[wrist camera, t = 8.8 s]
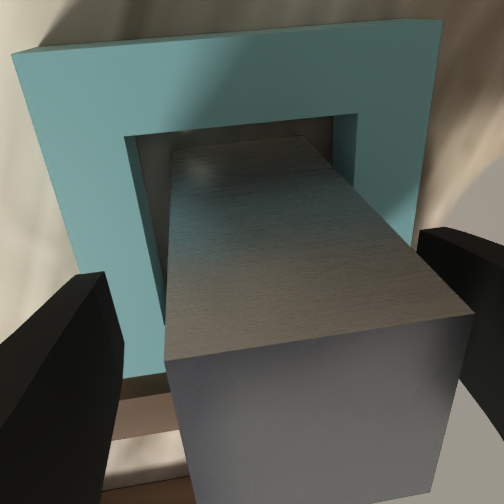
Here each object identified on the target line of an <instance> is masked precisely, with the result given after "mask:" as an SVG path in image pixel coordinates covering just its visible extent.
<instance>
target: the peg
mask: <svg viewBox="0 0 504 504" xmlns="http://www.w3.org/2000/svg"><path fill="white" fill-rule="evenodd" d="M474 317H475V313H474V312H473V311H472V310H471V309H470V308H469V307H468V306H467V304H466V303H465V302H464V301H463V300H462V299H461V298H460V297H459V296H458V295H457V294H456V293H455V292H454V291H453V290H452V289H451V288H450V287H449V286H448V285H447V284H446V283H445V282H444V281H443V280H442V279H441V278H440V277H439V276H438V275H437V274H436V273H435V272H434V271H433V270H432V268H431V267H430V266H429V265H428V264H427V263H426V262H425V261H424V260H423V259H422V258H421V257H420V256H419V255H418V254H417V253H416V252H415V251H414V250H413V249H412V248H411V247H410V246H409V245H408V244H407V243H406V242H405V241H404V240H403V239H402V238H401V237H400V236H399V235H398V234H397V232H396V231H395V230H394V229H393V228H392V227H391V226H390V225H389V224H388V223H387V222H386V221H385V220H384V219H383V218H382V217H381V216H380V215H379V214H378V213H377V212H376V211H375V210H374V209H373V208H372V207H371V206H370V205H369V204H368V203H367V202H366V201H365V200H364V199H363V198H362V196H361V195H360V194H359V193H358V192H357V191H356V190H355V189H354V188H353V187H352V186H351V185H350V184H349V183H348V182H347V181H346V180H345V179H344V178H343V177H342V176H341V175H340V174H339V173H338V172H337V171H336V170H335V169H334V168H333V167H332V166H331V165H330V164H329V163H328V161H327V160H326V159H325V158H324V157H323V156H322V155H321V154H320V153H319V152H318V151H317V150H316V149H315V148H314V147H313V146H312V145H311V144H310V143H309V142H308V141H307V140H306V139H305V138H304V137H303V136H302V135H300V136H291V137H281V138H272V139H262V140H253V141H243V142H234V143H224V144H215V145H206V146H196V147H187V148H177V149H173V152H172V176H171V200H170V224H169V247H168V271H167V295H166V318H165V342H164V365H165V369H166V373H167V378H168V382H169V386H170V391H171V395H172V399H173V404H174V408H175V412H176V417H177V421H178V426H179V430H180V434H181V439H182V443H183V447H184V452H185V456H186V460H187V465H188V469H189V473H190V478H191V482H192V486H193V491H194V495H195V499H196V504H371V503H376V502H382V501H386V500H392V499H397V498H402V497H407V496H413V495H418V494H423V493H428V492H430V490H431V486H432V482H433V478H434V474H435V470H436V466H437V462H438V458H439V454H440V451H441V447H442V442H443V438H444V435H445V431H446V427H447V422H448V419H449V415H450V411H451V407H452V403H453V399H454V395H455V391H456V387H457V384H458V380H459V376H460V372H461V368H462V364H463V360H464V356H465V352H466V348H467V344H468V340H469V336H470V332H471V328H472V324H473V320H474Z"/></svg>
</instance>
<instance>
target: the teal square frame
mask: <svg viewBox="0 0 504 504" xmlns="http://www.w3.org/2000/svg"><path fill="white" fill-rule="evenodd" d="M442 26H443V20H436V19H412V18H402V19H389V20H376V21H363V22H351V23H338V24H325V25H312V26H300V27H287V28H274V29H261V30H249V31H236V32H223V33H210V34H198V35H185V36H172V37H160V38H147V39H134V40H121V41H109V42H96V43H83V44H70V45H58V46H45V47H36V48H32V49H28V50H25V51H21V52H17V53H14V54H11V56H12V60H13V63H14V66H15V69H16V72H17V75H18V79H19V82H20V85H21V88H22V91H23V94H24V97H25V101H26V104H27V107H28V110H29V113H30V116H31V120H32V123H33V126H34V129H35V132H36V135H37V138H38V142H39V145H40V148H41V151H42V154H43V157H44V161H45V164H46V167H47V170H48V173H49V176H50V179H51V183H52V186H53V189H54V192H55V195H56V198H57V202H58V205H59V208H60V211H61V214H62V217H63V220H64V224H65V227H66V230H67V233H68V236H69V239H70V243H71V246H72V249H73V252H74V255H75V258H76V261H77V265H78V268H79V271H80V274H86V273H93V272H101V271H105V274H106V278H107V281H108V285H109V288H110V292H111V296H112V299H113V303H114V306H115V310H116V313H117V317H118V320H119V324H120V328H121V331H122V335H123V338H124V342H125V349H124V368H123V379H124V378H130V377H137V376H143V375H150V374H156V373H163V372H166V369H165V365H164V342H165V318H166V295H167V289H166V288H165V284H164V279H163V274H162V269H161V264H160V259H159V254H158V249H157V244H156V239H155V234H154V229H153V224H152V219H151V214H150V209H149V204H148V199H147V194H146V189H145V184H144V179H143V174H142V169H141V164H140V159H139V154H138V149H137V144H136V139H135V135H143V134H153V133H163V132H173V131H183V130H193V129H203V128H213V127H223V126H233V125H243V124H253V123H263V122H273V121H283V120H293V119H303V118H313V117H323V116H333V145H332V167H333V168H334V169H335V170H336V171H337V172H338V173H339V174H340V175H341V176H342V177H343V178H344V179H345V180H346V181H347V182H348V183H349V184H350V185H351V186H352V187H353V188H354V189H355V190H356V191H357V192H358V193H359V194H360V195H361V196H362V198H363V199H364V200H365V201H366V202H367V203H368V204H369V205H370V206H371V207H372V208H373V209H374V210H375V211H376V212H377V213H378V214H379V215H380V216H381V217H382V218H383V219H384V220H385V221H386V222H387V223H388V224H389V225H390V226H391V227H392V228H393V229H394V230H395V231H396V232H397V234H398V235H399V236H400V237H401V238H402V239H403V240H404V241H405V242H406V243H407V244H408V245H409V246H410V247H411V241H412V234H413V227H414V220H415V213H416V206H417V199H418V192H419V185H420V178H421V171H422V164H423V157H424V150H425V144H426V137H427V130H428V123H429V116H430V109H431V102H432V95H433V88H434V81H435V74H436V67H437V60H438V53H439V47H440V40H441V33H442Z"/></svg>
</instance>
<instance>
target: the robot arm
mask: <svg viewBox="0 0 504 504" xmlns="http://www.w3.org/2000/svg"><path fill="white" fill-rule="evenodd" d="M416 253H417V254H418V255H419V256H420V257H421V258H422V259H423V260H424V261H425V262H426V263H427V264H428V265H429V266H430V267H431V268H432V270H433V271H434V272H435V273H436V274H437V275H438V276H439V277H440V278H441V279H442V280H443V281H444V282H445V283H446V284H447V285H448V286H449V287H450V288H451V289H452V290H453V291H454V292H455V293H456V294H457V295H458V296H459V297H460V298H461V299H462V300H463V301H464V302H465V303H466V304H467V306H468V307H469V308H470V309H471V310H472V311H473V312H474V313H475V317H474V320H473V324H472V328H471V332H470V336H469V340H468V344H467V348H466V352H465V356H464V360H463V364H462V368H461V372H460V376H459V379H460V380H461V382H462V383H463V385H464V386H465V387H466V388H467V390H468V391H469V393H470V394H471V395H472V397H473V398H474V399H475V400H476V402H477V403H478V404H479V406H480V407H481V409H482V410H483V411H484V412H485V414H486V415H487V417H488V418H489V420H490V421H491V423H492V424H493V425H494V427H495V428H496V430H497V431H498V433H499V434H500V436H501V437H502V439H503V441H504V246H503V245H500V244H497V243H495V242H492V241H489V240H486V239H483V238H480V237H478V236H475V235H472V234H469V233H466V232H462V231H459V230H455V229H452V228H447V227H440V228H432V229H424V230H420V232H419V238H418V245H417V252H416ZM124 349H125V342H124V338H123V335H122V331H121V328H120V324H119V320H118V317H117V313H116V310H115V306H114V303H113V299H112V296H111V292H110V288H109V285H108V281H107V278H106V274H105V271H101V272H93V273H86V274H78V275H75V276H74V277H73V278H71V279H70V280H69V281H68V282H67V283H66V284H65V285H63V286H62V287H61V288H60V289H59V290H58V291H57V292H56V293H55V294H54V295H53V296H52V297H51V298H50V299H49V300H48V301H47V302H46V303H45V304H44V305H43V306H41V307H40V308H39V309H38V310H37V311H36V312H35V313H34V314H33V315H32V316H31V317H30V318H29V319H28V320H27V321H26V322H24V323H23V324H22V325H21V326H20V327H19V328H18V329H17V330H16V331H15V332H14V333H13V334H11V335H10V336H9V337H8V338H7V339H6V340H5V341H3V342H2V343H1V344H0V504H100V500H101V493H102V487H103V481H104V476H105V471H106V466H107V460H108V455H109V450H110V445H111V440H112V435H113V430H114V425H115V420H116V415H117V410H118V404H119V399H120V394H121V388H122V382H123V368H124Z"/></svg>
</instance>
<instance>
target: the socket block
mask: <svg viewBox="0 0 504 504" xmlns="http://www.w3.org/2000/svg"><path fill="white" fill-rule="evenodd" d="M173 430H179V426H178V421H177V417H176V412H175V408H174V404H173V399H172V395H171V391H170V386H169V382H168V378H167V373H166V372H163V373H156V374H150V375H143V376H137V377H130V378H124V379H123V382H122V388H121V394H120V399H119V404H118V410H117V415H116V420H115V425H114V430H113V435H112V440H111V441H114V440H120V439H126V438H131V437H137V436H143V435H149V434H155V433H161V432H167V431H173ZM100 504H196V499H195V495H194V491H193V486H192V482H191V478H190V476H189V477H183V478H178V479H172V480H167V481H161V482H155V483H150V484H144V485H139V486H133V487H127V488H122V489H116V490H111V491H105V492H102V493H101V500H100Z"/></svg>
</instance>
